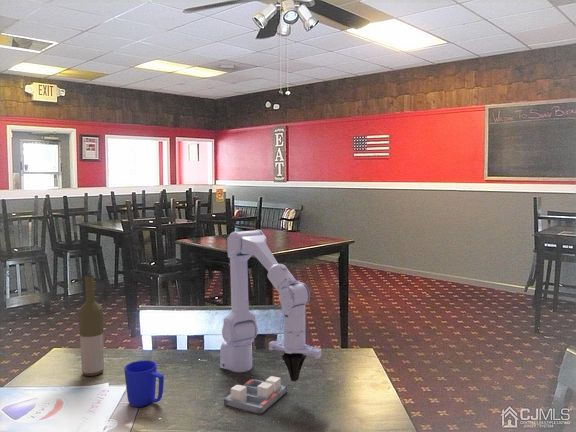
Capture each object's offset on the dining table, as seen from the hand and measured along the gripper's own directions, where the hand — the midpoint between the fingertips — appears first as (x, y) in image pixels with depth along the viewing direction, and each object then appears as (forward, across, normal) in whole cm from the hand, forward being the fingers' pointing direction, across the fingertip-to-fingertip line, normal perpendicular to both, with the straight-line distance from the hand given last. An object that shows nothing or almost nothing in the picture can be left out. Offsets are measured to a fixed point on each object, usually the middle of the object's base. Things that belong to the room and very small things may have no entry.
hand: (294, 379), depth 132 cm
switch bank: (+6, -9, -4) cm, 12 cm away
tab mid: (+5, -7, -4) cm, 9 cm away
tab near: (+5, -12, -9) cm, 16 cm away
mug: (+6, -34, -19) cm, 40 cm away
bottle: (+6, -63, -11) cm, 65 cm away
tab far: (+5, -7, 0) cm, 8 cm away
